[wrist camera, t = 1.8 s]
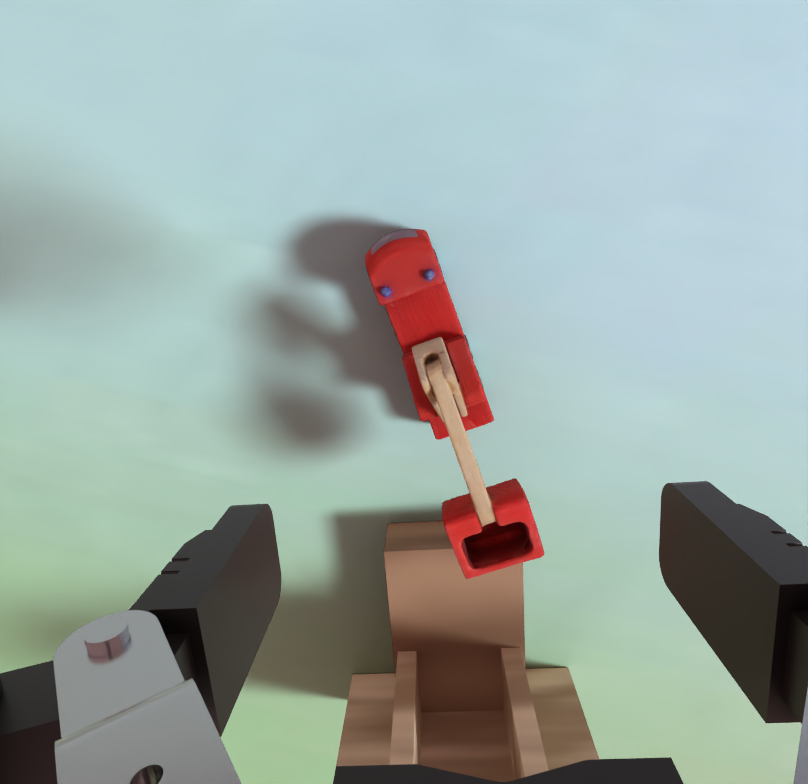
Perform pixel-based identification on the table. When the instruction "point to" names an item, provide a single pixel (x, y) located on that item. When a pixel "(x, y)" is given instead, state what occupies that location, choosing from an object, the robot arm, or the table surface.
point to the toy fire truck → (450, 401)
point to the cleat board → (460, 674)
